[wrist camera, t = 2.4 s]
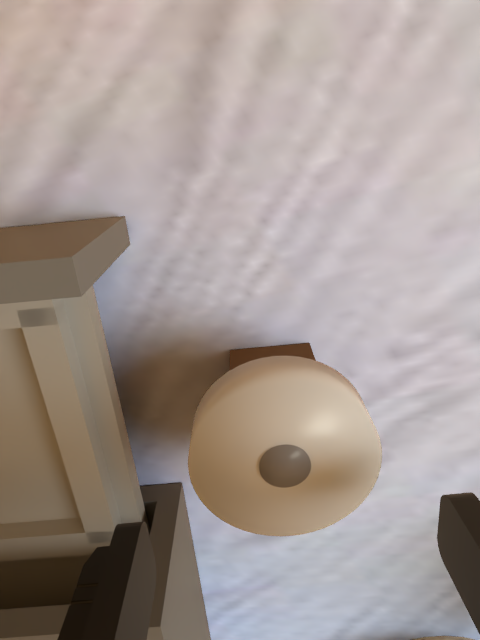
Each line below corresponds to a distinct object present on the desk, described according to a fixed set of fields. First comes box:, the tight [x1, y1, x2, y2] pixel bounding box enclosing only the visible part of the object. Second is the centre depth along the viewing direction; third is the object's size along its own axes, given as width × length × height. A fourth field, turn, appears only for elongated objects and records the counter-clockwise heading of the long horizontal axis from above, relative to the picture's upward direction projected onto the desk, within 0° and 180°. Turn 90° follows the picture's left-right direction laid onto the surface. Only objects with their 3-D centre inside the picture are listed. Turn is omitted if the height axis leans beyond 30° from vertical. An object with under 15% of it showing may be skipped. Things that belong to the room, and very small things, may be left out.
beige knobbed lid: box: [188, 356, 382, 536], centre depth 15 cm, size 6×6×2 cm
